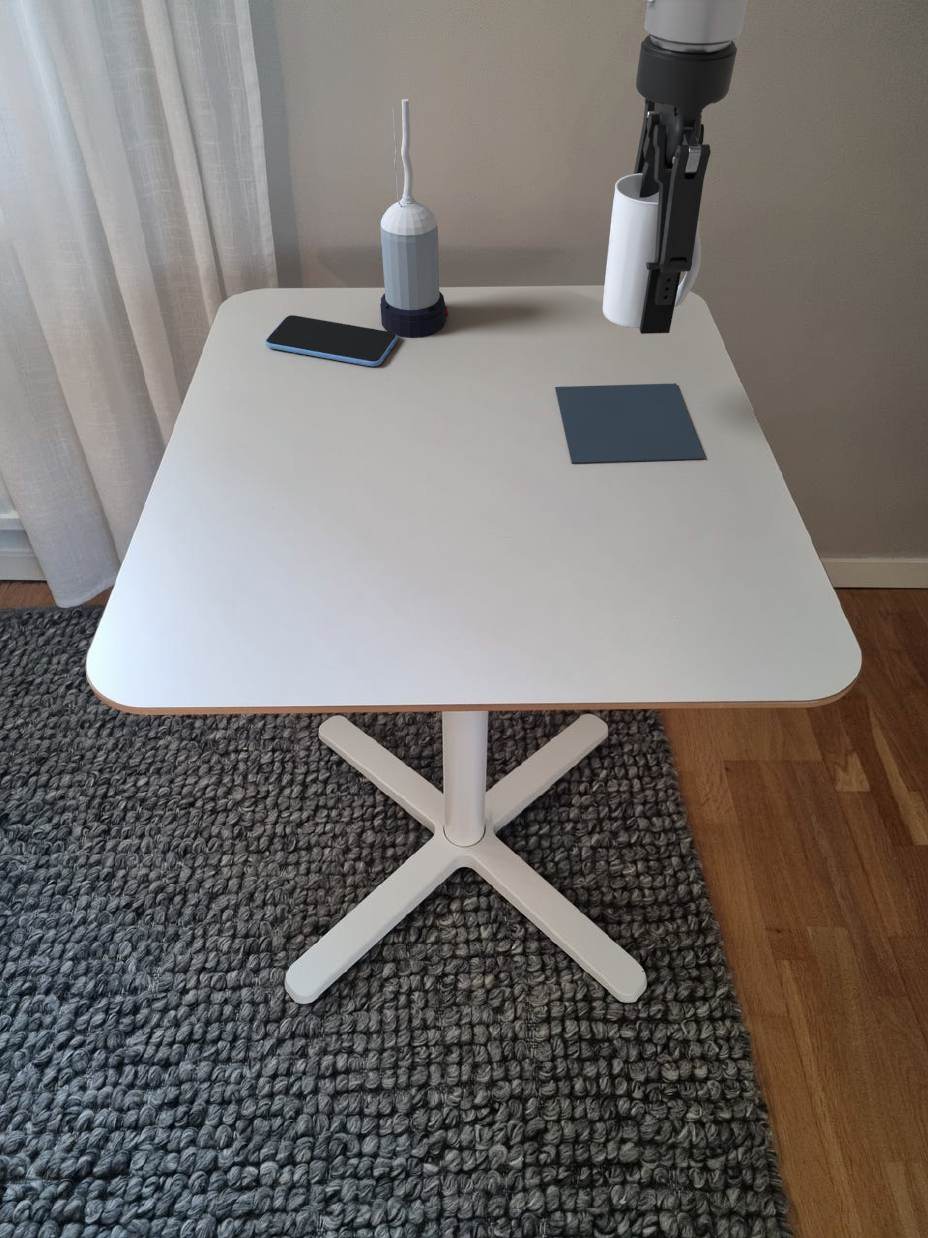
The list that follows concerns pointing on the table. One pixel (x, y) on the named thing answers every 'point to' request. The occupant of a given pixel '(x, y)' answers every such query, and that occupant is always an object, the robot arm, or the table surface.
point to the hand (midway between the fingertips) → (645, 307)
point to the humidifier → (410, 259)
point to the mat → (627, 424)
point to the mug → (635, 254)
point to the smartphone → (332, 340)
